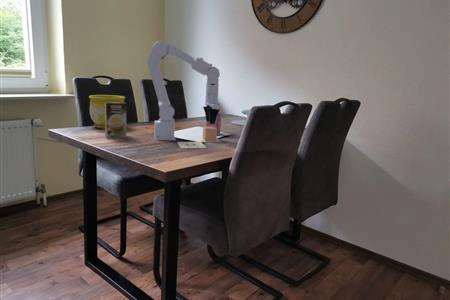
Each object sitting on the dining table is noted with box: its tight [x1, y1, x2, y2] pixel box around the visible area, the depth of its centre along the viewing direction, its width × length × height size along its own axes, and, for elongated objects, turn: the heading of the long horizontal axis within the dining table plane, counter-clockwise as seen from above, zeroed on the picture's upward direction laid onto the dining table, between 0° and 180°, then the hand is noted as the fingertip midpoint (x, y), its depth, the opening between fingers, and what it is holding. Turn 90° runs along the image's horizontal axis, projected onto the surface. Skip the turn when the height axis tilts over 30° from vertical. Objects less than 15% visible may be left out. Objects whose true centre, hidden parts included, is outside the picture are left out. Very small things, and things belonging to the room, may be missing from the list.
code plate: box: [177, 141, 207, 149], centre depth 150 cm, size 11×12×1 cm
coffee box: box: [104, 101, 127, 139], centre depth 158 cm, size 9×6×16 cm
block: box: [202, 126, 218, 141], centre depth 161 cm, size 6×6×6 cm
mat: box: [200, 138, 222, 143], centre depth 162 cm, size 9×9×1 cm
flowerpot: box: [88, 94, 126, 130], centre depth 181 cm, size 18×18×16 cm
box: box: [205, 110, 222, 135], centre depth 179 cm, size 10×6×12 cm, turn 168°
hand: (210, 122), depth 160 cm, fingers open, 7 cm apart
